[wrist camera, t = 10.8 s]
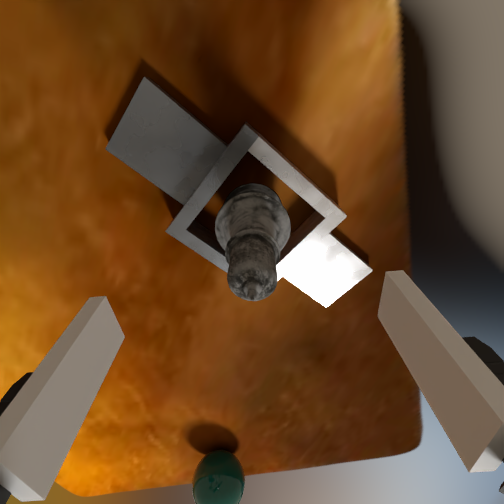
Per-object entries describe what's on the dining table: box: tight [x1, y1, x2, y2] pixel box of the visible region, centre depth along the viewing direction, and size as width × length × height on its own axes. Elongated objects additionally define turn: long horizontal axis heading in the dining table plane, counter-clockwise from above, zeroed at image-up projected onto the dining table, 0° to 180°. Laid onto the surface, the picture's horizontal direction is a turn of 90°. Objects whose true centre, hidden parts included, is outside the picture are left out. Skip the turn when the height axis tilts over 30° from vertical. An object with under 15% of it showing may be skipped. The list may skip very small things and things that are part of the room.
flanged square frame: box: [106, 77, 373, 307], centre depth 23 cm, size 24×10×2 cm, turn 50°
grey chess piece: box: [215, 183, 291, 301], centre depth 19 cm, size 6×6×12 cm
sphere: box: [192, 450, 245, 504], centre depth 42 cm, size 8×8×8 cm
